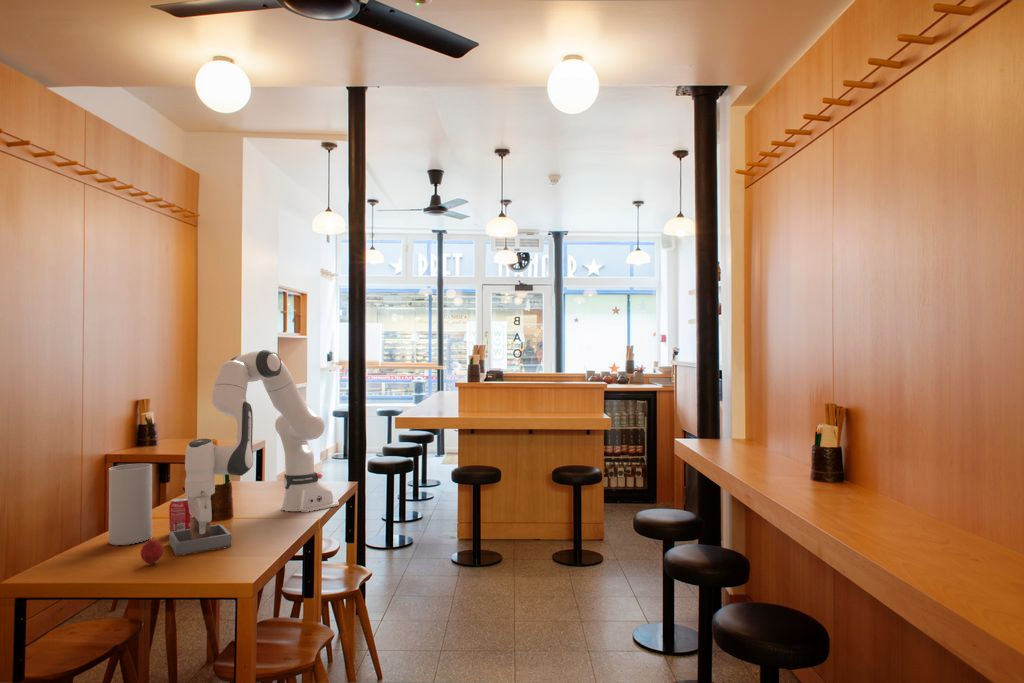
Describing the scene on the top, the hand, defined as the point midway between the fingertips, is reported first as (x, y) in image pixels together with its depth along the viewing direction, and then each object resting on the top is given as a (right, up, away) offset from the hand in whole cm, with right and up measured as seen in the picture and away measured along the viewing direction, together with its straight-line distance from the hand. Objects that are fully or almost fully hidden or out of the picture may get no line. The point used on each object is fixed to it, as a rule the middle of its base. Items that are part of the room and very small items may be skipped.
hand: (200, 531), depth 205 cm
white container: (-27, -5, +6) cm, 28 cm away
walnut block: (0, -3, 0) cm, 3 cm away
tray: (0, -5, 0) cm, 5 cm away
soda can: (-14, -5, +14) cm, 21 cm away
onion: (-5, -4, -19) cm, 20 cm away
